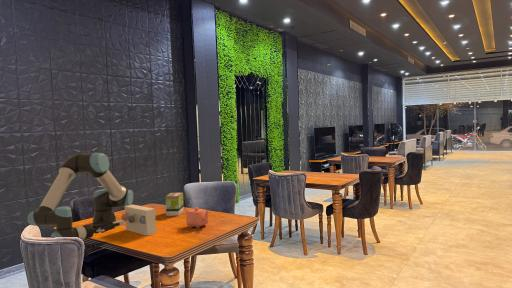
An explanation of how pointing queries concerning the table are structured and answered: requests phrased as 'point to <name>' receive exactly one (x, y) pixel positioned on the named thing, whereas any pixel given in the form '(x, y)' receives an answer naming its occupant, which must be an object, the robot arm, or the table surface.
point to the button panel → (137, 212)
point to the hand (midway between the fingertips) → (123, 222)
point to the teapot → (196, 217)
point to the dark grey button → (142, 219)
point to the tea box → (174, 204)
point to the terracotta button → (124, 217)
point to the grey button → (131, 219)
